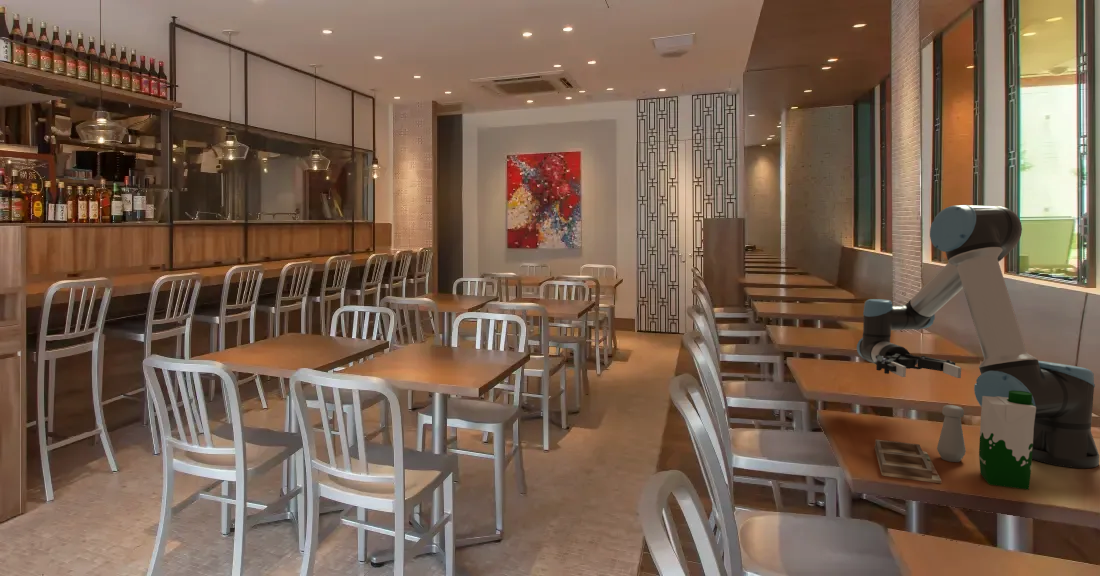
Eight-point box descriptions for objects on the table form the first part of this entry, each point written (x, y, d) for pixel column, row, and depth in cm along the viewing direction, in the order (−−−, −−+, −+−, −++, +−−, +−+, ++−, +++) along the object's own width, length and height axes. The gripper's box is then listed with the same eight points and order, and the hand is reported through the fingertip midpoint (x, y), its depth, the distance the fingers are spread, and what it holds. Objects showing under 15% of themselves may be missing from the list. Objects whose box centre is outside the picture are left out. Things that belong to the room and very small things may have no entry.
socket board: (926, 454, 151) (926, 444, 151) (941, 483, 133) (941, 472, 132) (874, 448, 156) (874, 438, 156) (881, 475, 137) (882, 464, 137)
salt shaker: (969, 464, 144) (972, 410, 143) (942, 462, 145) (945, 408, 144) (958, 456, 150) (960, 403, 149) (932, 454, 151) (935, 402, 150)
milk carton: (1035, 492, 128) (1041, 398, 127) (984, 485, 131) (989, 394, 130) (1021, 477, 136) (1026, 389, 135) (973, 471, 140) (978, 385, 138)
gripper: (935, 370, 177) (981, 387, 155) (846, 368, 178) (880, 385, 157) (936, 344, 176) (983, 358, 155) (847, 343, 178) (882, 357, 157)
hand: (931, 372), depth 156 cm, fingers open, 13 cm apart
